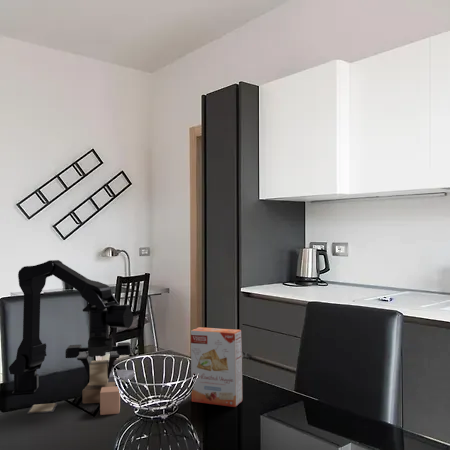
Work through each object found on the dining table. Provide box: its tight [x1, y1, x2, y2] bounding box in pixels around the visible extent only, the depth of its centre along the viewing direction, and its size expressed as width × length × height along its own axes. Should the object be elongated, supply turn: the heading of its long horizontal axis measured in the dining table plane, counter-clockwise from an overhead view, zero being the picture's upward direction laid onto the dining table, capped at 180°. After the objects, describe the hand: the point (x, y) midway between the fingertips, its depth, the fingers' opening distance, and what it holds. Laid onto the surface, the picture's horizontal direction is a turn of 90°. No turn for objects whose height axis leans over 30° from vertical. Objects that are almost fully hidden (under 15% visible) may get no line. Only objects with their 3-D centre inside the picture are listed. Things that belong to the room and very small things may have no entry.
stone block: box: [108, 369, 136, 386], centre depth 160 cm, size 12×5×10 cm
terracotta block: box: [99, 386, 121, 416], centre depth 133 cm, size 5×5×6 cm
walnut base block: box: [81, 382, 115, 404], centre depth 144 cm, size 8×8×4 cm
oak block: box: [89, 359, 109, 385], centre depth 144 cm, size 5×5×6 cm
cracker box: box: [190, 326, 243, 408], centre depth 139 cm, size 14×6×21 cm, turn 68°
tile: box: [27, 402, 58, 415], centre depth 136 cm, size 7×7×1 cm
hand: (99, 378), depth 144 cm, fingers closed on oak block, 5 cm apart
